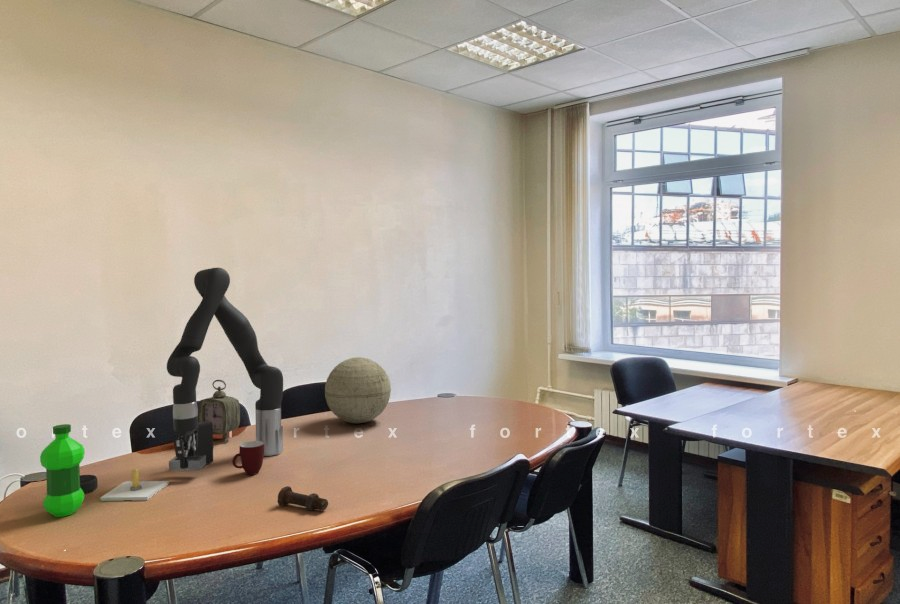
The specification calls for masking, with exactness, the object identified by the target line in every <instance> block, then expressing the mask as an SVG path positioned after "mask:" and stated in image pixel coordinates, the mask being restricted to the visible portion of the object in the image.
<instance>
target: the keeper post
mask: <svg viewBox="0 0 900 604" xmlns="http://www.w3.org/2000/svg"><path fill="white" fill-rule="evenodd" d="M139 471H140V470H139V469H138V468H134V469H132V470H131V476H132V479H131V481H130V480H128V481H127V480H126V481H123V482H121V483H120V484H119V485H118V486H116V487H115V488H113V489H111V490H110V491H108V492H107V493H105V494H104V495H102V496H101V497H99V499H100V502H113V501H114V502H118V501H119V502H121V501H122V502H123V501H124V500H132V501H149V500H150V499H151V498H153V497H154V496H155V495H157V494H158V493H159V492H160V491H162V490H163V489H165V488H166V487H167V486H168V485H169V483H170V481H169V480H141V481H140V475H139ZM167 484H168V485H167ZM166 485H167V486H166ZM162 488H163V489H162ZM161 489H162V490H161ZM158 491H159V492H158ZM157 492H158V493H157ZM154 494H155V495H154ZM153 495H154V496H153ZM152 496H153V497H152ZM149 498H150V499H149ZM148 499H149V500H148Z"/></svg>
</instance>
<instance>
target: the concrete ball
mask: <svg viewBox="0 0 900 604" xmlns="http://www.w3.org/2000/svg"><path fill="white" fill-rule="evenodd" d="M330 371H331V372H330V373H329V375H328V376H327V378H326V380H325V381H326V382H325V386H324V396H325V401H326V404H327V406H328V408H329V410H330V411H331V412H332V414H334V416H336V417H337V418H338V419H340V420H341V421H344V422H346V423H349V424H363V423H368V422H371V421H373V420H374V419H376V418H377V417H379V416H380V415H381V414H382V413H383V412H384V410H385V409H386V408H387V406H388V404H389V402H390V398H391V391H392V388H391V381H390V378H389V375H388V374H387V372H386V370H385V369H384V368H383V366H381V365H380V364H378V362H376V361H374V360H372V359H370V358H365V357H359V356H358V357H352V358H348V359H344V360H343V361H340V362H339V363H338V364H337V365H336V366H334V368H333V369H332V370H330Z"/></svg>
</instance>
